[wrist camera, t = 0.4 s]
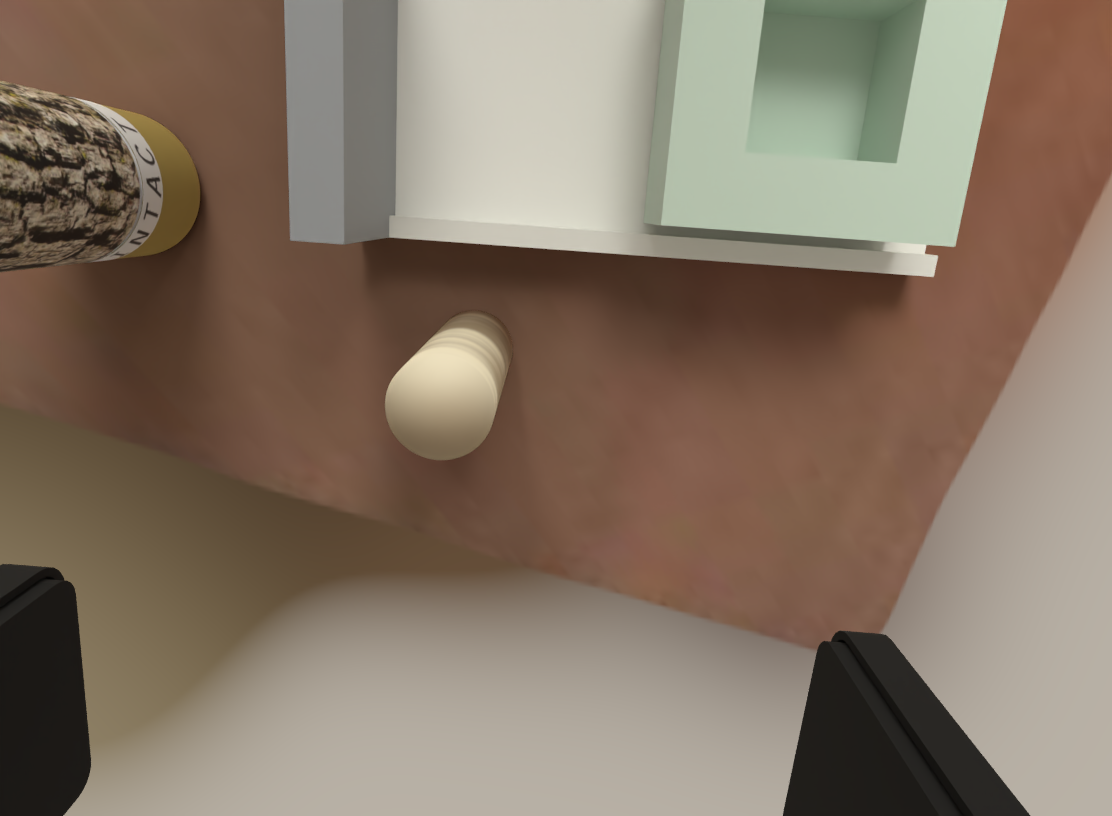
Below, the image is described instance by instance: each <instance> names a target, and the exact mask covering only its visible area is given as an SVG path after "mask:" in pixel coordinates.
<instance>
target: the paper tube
mask: <svg viewBox="0 0 1112 816" xmlns="http://www.w3.org/2000/svg"><path fill="white" fill-rule="evenodd" d="M199 205H200V184H199V178H198V174H197V171H196V168H195V165H194V163H193V161H192V159H191V157H190V155H189V153H188V151H187V150H186V148H185V147H184V146H183V144H182V143H181V142H180V141H179V139H178V138H177V137H176V136H175V135H174V134H173V133H172V132H170V131H169V130H168V129H167V128H165V127H164V126H163V125H161V124H160V123H158V122H156V121H154V120H152V119H150V118H148V117H146V116H144V115H141V114H138V113H134V112H130V111H126V110H121V109H117V108H113V107H109V106H104V105H100V104H97V103H94V102H90V101H86V100H81V99H77V98H73V97H69V96H64V95H60V94H56V93H52V92H48V91H43V90H39V89H35V88H31V87H26V86H22V85H18V84H14V83H10V82H5V81H1V80H0V272H5V271H15V270H24V269H33V268H42V267H51V266H60V265H70V264H79V263H88V262H97V261H106V260H112V259H119V258H129V257H138V256H147V255H153V254H157V253H160V252H163V251H165V250H167V249H169V248H171V247H173V246H174V245H176V244H177V243H178V242H180V241H181V240H182V239H183V238H184V237H185V236H186V235H187V233H188V232H189V231H190V229H191V227H192V226H193V224H194V222H195V219H196V217H197V214H198V210H199Z"/></svg>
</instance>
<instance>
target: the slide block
mask: <svg viewBox="0 0 1112 816" xmlns="http://www.w3.org/2000/svg"><path fill="white" fill-rule="evenodd" d="M1006 4H1007V0H665V10H664V20H663V30H662V40H661V50H660V60H659V70H658V80H657V90H656V100H655V110H654V120H653V130H652V140H651V150H650V160H649V170H648V180H647V191H646V201H645V211H644V221H643V223H648V224H655V225H665V226H678V227H692V228H705V229H719V230H733V231H746V232H760V233H774V234H787V235H801V236H815V237H828V238H842V239H855V240H869V241H883V242H896V243H910V244H924V245H937V246H951V247H955V245H956V240H957V236H958V231H959V226H960V221H961V217H962V212H963V207H964V202H965V198H966V193H967V188H968V183H969V179H970V174H971V169H972V165H973V160H974V155H975V150H976V146H977V141H978V136H979V131H980V127H981V122H982V117H983V113H984V108H985V103H986V98H987V94H988V89H989V84H990V79H991V75H992V70H993V65H994V60H995V56H996V51H997V46H998V42H999V37H1000V32H1001V27H1002V23H1003V18H1004V13H1005V8H1006Z"/></svg>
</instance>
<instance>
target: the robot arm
mask: <svg viewBox="0 0 1112 816" xmlns="http://www.w3.org/2000/svg"><path fill="white" fill-rule="evenodd" d="M90 756H91V755H90V745H89V733H88V723H87V711H86V701H85V691H84V679H83V668H82V657H81V646H80V635H79V624H78V613H77V602H76V593H75V589H74V586H73V585H72V584H71V583H70V582H68V581H64V578H63V576H62V574H61V573H60V571H59V570H57V569H55V568H49V567H37V566H26V565H12V564H2V565H0V816H63V815H64V814H65V813H66V812H67V810H68V809H69V808H70V807H71V806H72V804H73V803H74V802H75V801H76V799H77V798H78V797H79V795H80V794H81V792H82V791H83V789H84V787H85V785H86V783H87V780H88V777H89V773H90V768H91V757H90ZM783 816H1030V815H1029V813H1028V812H1027V811H1026V810H1025V808H1024V807H1023V806H1022V805H1021V803H1020V802H1019V801H1018V800H1017V798H1016V797H1015V796H1014V795H1013V793H1012V792H1011V791H1010V789H1009V788H1008V787H1007V786H1006V785H1005V783H1004V782H1003V781H1002V780H1001V778H1000V777H999V776H998V774H997V773H996V772H995V771H994V769H993V768H992V767H991V765H990V764H989V763H988V762H987V760H986V759H985V758H984V757H983V756H982V754H981V753H980V752H979V750H978V749H977V748H976V747H975V745H974V744H973V743H972V741H971V740H970V739H969V738H968V736H967V735H966V734H965V733H964V731H963V730H962V729H961V728H960V726H959V725H958V724H957V723H956V721H955V720H954V719H953V717H952V716H951V715H950V714H949V712H948V711H947V710H946V709H945V707H944V706H943V705H942V703H941V702H940V701H939V700H938V699H937V697H936V696H935V695H934V693H933V692H932V691H931V690H930V688H929V687H928V686H927V684H926V683H925V682H924V681H923V679H922V678H921V677H920V676H919V674H918V673H917V672H916V671H915V670H914V668H913V667H912V666H911V664H910V663H909V662H908V660H907V659H906V658H905V657H904V655H903V654H902V653H901V652H900V650H899V649H898V648H897V647H896V645H895V644H894V643H893V641H892V640H891V639H890V638H888V636H886V635H883V634H875V633H862V632H850V631H838V632H837V633H835V635H834V636H833V638H832V640H831V642H828V641H824V642H822V643H821V644H820V645H819V647H818V650H817V654H816V659H815V664H814V668H813V673H812V678H811V683H810V688H809V692H808V697H807V702H806V707H805V711H804V717H803V721H802V726H801V731H800V735H799V740H798V745H797V750H796V754H795V759H794V764H793V769H792V773H791V778H790V784H789V788H788V793H787V797H786V802H785V807H784V813H783Z"/></svg>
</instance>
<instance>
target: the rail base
mask: <svg viewBox="0 0 1112 816" xmlns="http://www.w3.org/2000/svg"><path fill="white" fill-rule="evenodd" d="M664 10H665V0H284V16H285V56H286V95H287V135H288V174H289V214H290V241H303V242H317V243H331V244H351V243H357V242H363V241H370V240H376V239H383V238H389V237H390V238H404V239H417V240H431V241H445V242H459V243H473V244H486V245H500V246H514V247H528V248H542V249H555V250H569V251H583V252H597V253H611V254H624V255H638V256H652V257H666V258H680V259H693V260H707V261H721V262H735V263H749V264H762V265H776V266H790V267H804V268H818V269H831V270H845V271H859V272H873V273H887V274H900V275H914V276H928V277H934V273H935V268H936V263H937V258H938V256H937V255H928V254H925V249H926V245H924V244H910V243H896V242H883V241H869V240H855V239H842V238H828V237H815V236H801V235H787V234H774V233H760V232H746V231H733V230H719V229H705V228H692V227H678V226H665V225H655V224H648V223H643V221H644V211H645V201H646V191H647V180H648V170H649V160H650V150H651V140H652V130H653V120H654V110H655V100H656V90H657V80H658V70H659V60H660V50H661V40H662V30H663V20H664Z"/></svg>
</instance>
